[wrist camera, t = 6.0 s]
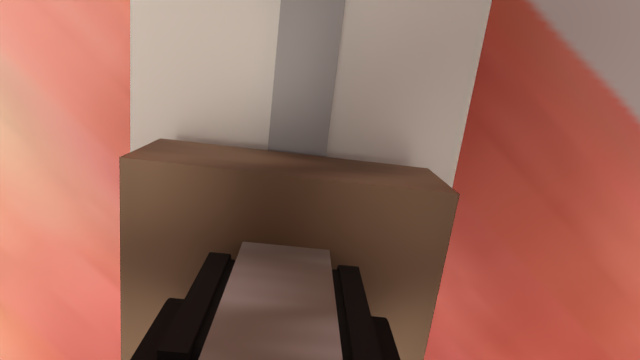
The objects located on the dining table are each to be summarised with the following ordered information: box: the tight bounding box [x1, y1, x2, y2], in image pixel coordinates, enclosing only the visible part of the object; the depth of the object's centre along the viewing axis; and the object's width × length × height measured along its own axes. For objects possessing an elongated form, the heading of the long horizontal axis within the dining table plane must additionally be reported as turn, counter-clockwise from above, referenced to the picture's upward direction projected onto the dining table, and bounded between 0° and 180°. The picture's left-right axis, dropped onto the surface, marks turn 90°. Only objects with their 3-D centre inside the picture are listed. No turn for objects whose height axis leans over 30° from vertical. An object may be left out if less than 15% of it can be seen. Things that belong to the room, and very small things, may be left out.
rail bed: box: [130, 0, 492, 188], centre depth 15 cm, size 12×29×4 cm, turn 173°
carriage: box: [120, 138, 460, 360], centre depth 10 cm, size 9×7×9 cm
